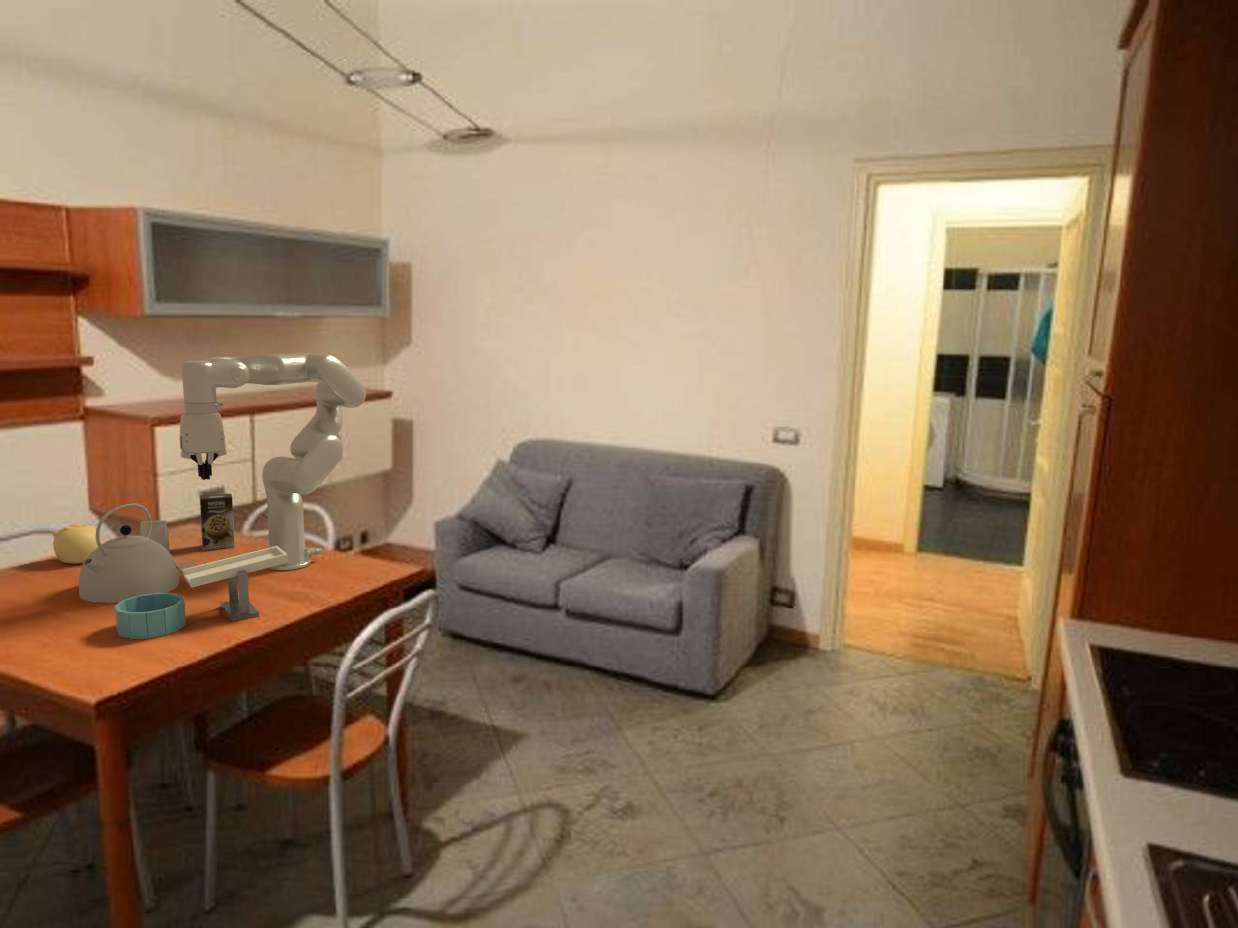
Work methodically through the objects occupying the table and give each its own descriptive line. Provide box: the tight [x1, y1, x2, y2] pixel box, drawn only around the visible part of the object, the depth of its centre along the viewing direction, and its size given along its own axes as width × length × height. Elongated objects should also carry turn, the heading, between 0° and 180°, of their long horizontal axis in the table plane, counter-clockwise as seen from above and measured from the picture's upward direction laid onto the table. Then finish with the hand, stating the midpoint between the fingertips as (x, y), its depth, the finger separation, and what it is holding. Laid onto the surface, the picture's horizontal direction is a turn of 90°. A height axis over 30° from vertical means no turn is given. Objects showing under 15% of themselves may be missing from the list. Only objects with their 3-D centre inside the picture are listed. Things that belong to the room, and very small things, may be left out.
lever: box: [175, 546, 288, 588], centre depth 205 cm, size 22×18×3 cm
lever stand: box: [219, 571, 260, 622], centre depth 202 cm, size 6×12×12 cm, turn 38°
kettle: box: [78, 503, 180, 604], centre depth 215 cm, size 25×23×22 cm
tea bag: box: [139, 519, 171, 552], centre depth 247 cm, size 4×7×10 cm, turn 105°
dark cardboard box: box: [199, 493, 236, 551], centre depth 256 cm, size 9×6×16 cm
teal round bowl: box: [114, 592, 187, 640], centre depth 191 cm, size 14×14×6 cm
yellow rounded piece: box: [52, 523, 103, 564], centre depth 238 cm, size 12×12×11 cm
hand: (205, 478), depth 216 cm, fingers closed
